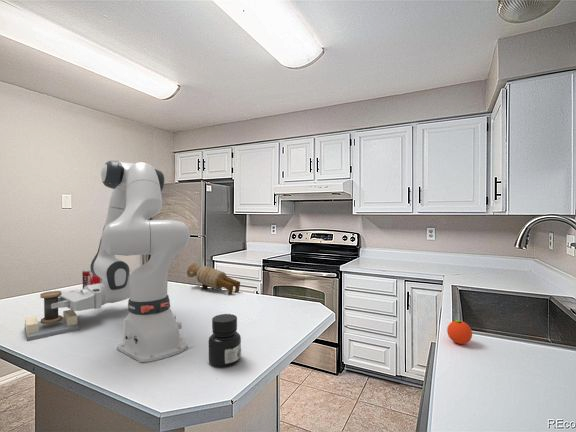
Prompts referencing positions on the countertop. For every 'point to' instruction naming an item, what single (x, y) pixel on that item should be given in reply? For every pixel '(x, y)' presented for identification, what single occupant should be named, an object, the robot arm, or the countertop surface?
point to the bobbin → (50, 313)
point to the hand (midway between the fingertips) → (48, 304)
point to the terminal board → (50, 326)
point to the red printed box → (85, 276)
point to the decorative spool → (212, 278)
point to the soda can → (93, 279)
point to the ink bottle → (224, 341)
